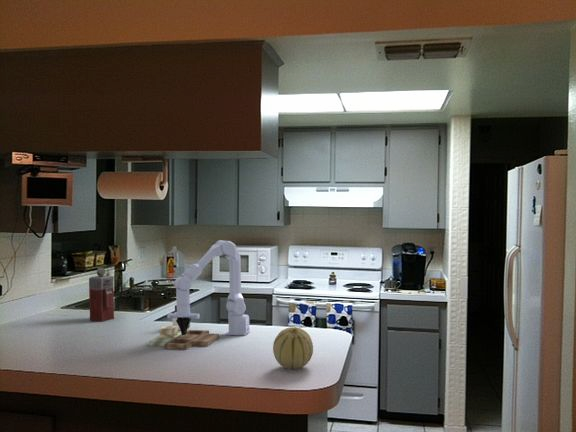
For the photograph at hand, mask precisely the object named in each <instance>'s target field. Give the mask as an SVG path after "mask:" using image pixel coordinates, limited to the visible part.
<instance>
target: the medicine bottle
mask: <svg viewBox="0 0 576 432" xmlns="http://www.w3.org/2000/svg"><path fill="white" fill-rule="evenodd" d="M174 313H177V304H176V305H174ZM176 320H177V318H172V326H178V331H181V330H180V328H179V325H178V324H177V322H176ZM190 328H191V321H190V322H189V325H188V328H187V331H188V330H190Z"/></svg>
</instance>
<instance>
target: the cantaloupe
mask: <svg viewBox="0 0 576 432" xmlns="http://www.w3.org/2000/svg"><path fill="white" fill-rule="evenodd" d="M272 350H273V351H272V352H273V355H274V358H275V360H276V361H277V362H276V363H278V365H279V366H281V367H283V368H285V369H287V370H298V369H301V368H304V367H305V366H306V365H308V363H310V361H311V359H312V357H313V355H314V345H313V339H312V338H311V336H310V334H309V333H308V332H307V331H306V330H304V329H302V328H301V327H296V326H295V327H294V326H292V327H287V328H285V329H281V330H280V332H278V333H277V335H276V336H275V338H274V341H273V345H272Z"/></svg>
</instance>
